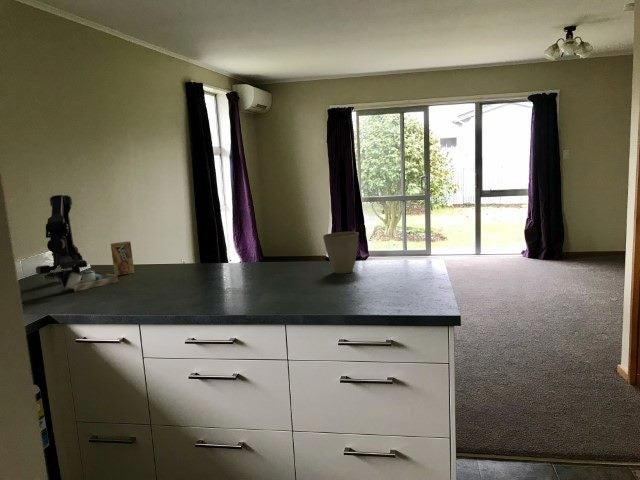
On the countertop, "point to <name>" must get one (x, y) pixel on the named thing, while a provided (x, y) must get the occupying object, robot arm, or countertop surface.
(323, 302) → the countertop surface
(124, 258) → the candy box
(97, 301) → the countertop surface
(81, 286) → the lane
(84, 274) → the jar in lane
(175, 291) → the countertop surface
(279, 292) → the countertop surface
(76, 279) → the jar
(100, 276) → the follower
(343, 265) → the plant pot
